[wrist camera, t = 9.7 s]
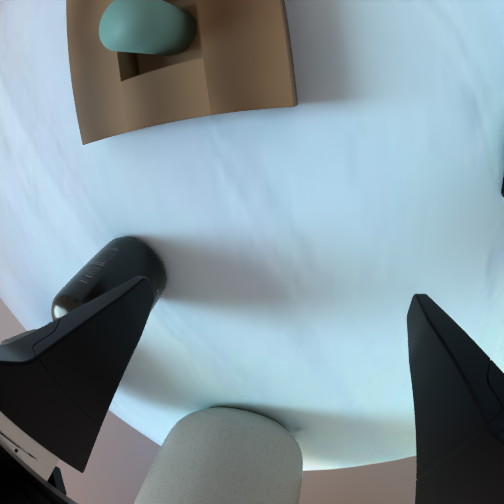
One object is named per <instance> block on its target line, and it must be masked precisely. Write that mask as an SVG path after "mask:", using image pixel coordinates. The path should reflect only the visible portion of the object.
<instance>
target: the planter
mask: <svg viewBox="0 0 504 504" xmlns="http://www.w3.org/2000/svg"><path fill="white" fill-rule="evenodd" d="M302 475H303V459H302V453H301V449H300V447H299V445H298V443H297V441H296V440H295V438H294V437H293V436H292V435H291V434H290V433H289V432H288V431H287V430H286V429H285V428H284V427H283V426H281V425H280V424H278V423H277V422H275V421H273V420H272V419H270V418H267V417H265V416H262V415H260V414H257V413H253V412H250V411H246V410H241V409H235V408H226V407H216V408H208V409H203V410H199V411H196V412H193V413H191V414H188V415H186V416H185V417H183V418H182V419H180V420H179V421H178V422H177V423H176V424H175V425H174V427H173V428H172V429H171V431H170V432H169V434H168V436H167V437H166V439H165V440H164V442H163V444H162V446H161V448H160V450H159V452H158V454H157V456H156V458H155V460H154V462H153V464H152V466H151V469H150V470H149V473H148V475H147V477H146V479H145V481H144V483H143V485H142V487H141V489H140V491H139V494H138V496H137V498H136V500H135V503H134V504H299V499H300V491H301V484H302Z"/></svg>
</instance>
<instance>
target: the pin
mask: <svg viewBox="0 0 504 504" xmlns="http://www.w3.org/2000/svg"><path fill="white" fill-rule="evenodd" d="M196 32H197V24H196V20H195V18H194V17H193V16H192V14H190V13H189V12H187V11H185V10H183V9H181V8H179V7H177V6H175V5H172V4H170V3H168V2H165V1H163V0H114V1H113V2H112V3H111V4H110V5H109V6H108V7H107V9H106V10H105V12H104V14H103V15H102V18H101V21H100V25H99V37H100V40H101V42H102V44H103V45H104V46H105V47H106V48H107V49H109V50H111V51H118V52H133V53H144V54H154V55H162V56H173V55H176V54H179V53H181V52H182V51H184V50H185V49H187V48H188V47H189V46H190V44H191V43H192V42H193V40H194V38H195V35H196Z"/></svg>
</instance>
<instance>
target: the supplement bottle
mask: <svg viewBox="0 0 504 504" xmlns="http://www.w3.org/2000/svg"><path fill="white" fill-rule="evenodd" d="M138 276H140V277H147V278H148V279H149V281H150V284H151V287H152V290H153V292H154V296H155V299H154V303H153V306H152V308H151V310H152V309H153V307H154V306H155V304H156V303H157V301H158V300H159V298H160V297H161V295H162V293H163V292H164V290H165V287H166V281H167V278H166V272H165V269H164V266H163V264H162V262H161V260H160V259H159V257H158V256H157V255H156V253H155V252H154V251H153V250H152V249H151V248H150V247H148V246H147V245H146V244H144V243H142V242H141V241H139V240H136V239H133V238H129V237H120V238H116V239H114V240H112V241H110V242H109V243H108V244H107V245H106V246H105V247H104V248H102V249H101V250H100V251H99V252H98V253H97V254H96V255H95V256H94V257H93V258H92V259H91V260H90V261H89V262H88V263H87V264H86V265H85V266H84V267H83V268H82V269H81V270H80V271H79V272H78V273H77V274H76V275H75V276H74V277H73V278H72V279H71V280H70V281H69V282H68V283H67V284H66V285H65V286H64V287H63V288H62V289H61V291H60V292H59V293H58V294H57V295H56V296H55V298H54V300H53V303H52V309H51V312H52V318H53V321H55V320H56V319H58V318H60V317H62V316H64V315H66V314H67V313H69V312H71V311H73V310H75V309H77V308H78V307H80V306H82V305H84V304H86V303H88V302H90V301H91V300H93V299H95V298H97V297H99V296H101V295H103V294H105V293H106V292H108V291H110V290H112V289H114V288H116V287H118V286H120V285H122V284H124V283H126V282H127V281H129V280H131V279H133V278H135V277H138ZM150 312H151V311H150ZM50 323H51V322H50ZM48 324H49V323H48Z"/></svg>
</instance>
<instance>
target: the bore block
mask: <svg viewBox="0 0 504 504" xmlns="http://www.w3.org/2000/svg"><path fill="white" fill-rule="evenodd" d="M113 1H114V0H66V14H67V39H68V52H69V63H70V72H71V80H72V88H73V95H74V101H75V107H76V113H77V118H78V124H79V129H80V134H81V138H82V143H83V145H85V144H88V143H91V142H94V141H98V140H101V139H104V138H108V137H111V136H115V135H119V134H122V133H126V132H130V131H134V130H138V129H142V128H146V127H150V126H155V125H159V124H164V123H169V122H174V121H179V120H184V119H190V118H196V117H202V116H208V115H215V114H222V113H229V112H237V111H246V110H256V109H267V108H281V107H294V106H296V105H298V104H297V94H296V85H295V76H294V67H293V59H292V51H291V44H290V36H289V29H288V23H287V16H286V10H285V3H284V0H163V1H165V2H168V3H170V4H172V5H175V6H177V7H179V8H181V9H183V10H185V11H187V12H189V13H190V14H192V16H193V17H194V18H195V20H196V24H197V32H196V35H195V38H194V40H193V42H192V43H191V44H190V46H189V47H188V48H187V49H185V50H184V51H182V52H181V53H179V54H176V55H173V56H162V55H154V54H144V53H133V52H118V51H111V50H109V49H107V48H106V47H105V46H104V45H103V44H102V42H101V40H100V37H99V25H100V21H101V18H102V15H103V14H104V12H105V10H106V9H107V7H108V6H109V5H110V4H111V3H112V2H113Z"/></svg>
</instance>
